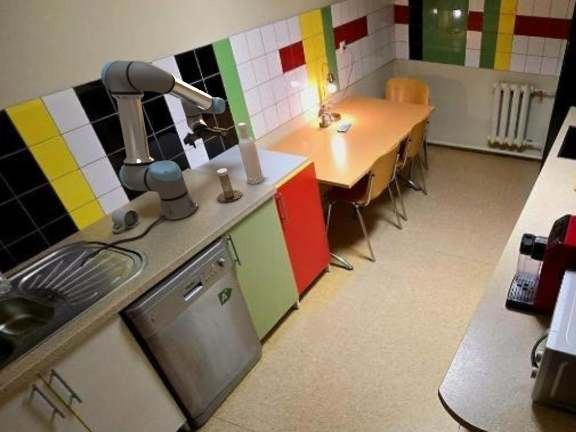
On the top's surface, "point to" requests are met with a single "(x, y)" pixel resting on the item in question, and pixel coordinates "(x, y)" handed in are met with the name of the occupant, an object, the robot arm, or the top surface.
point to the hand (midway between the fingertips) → (210, 142)
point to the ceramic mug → (124, 219)
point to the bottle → (249, 156)
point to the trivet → (235, 197)
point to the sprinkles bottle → (225, 182)
